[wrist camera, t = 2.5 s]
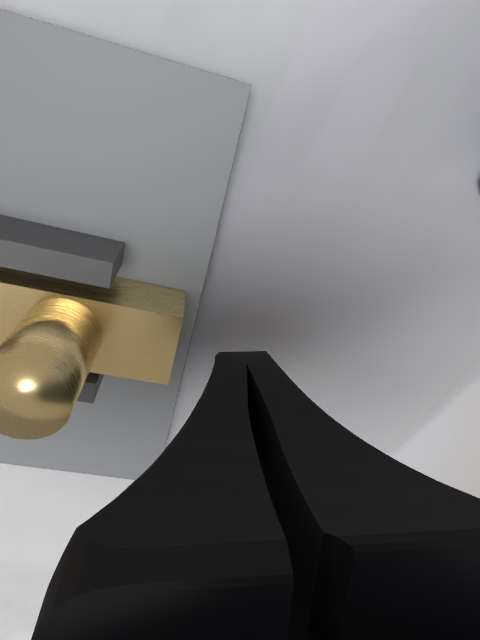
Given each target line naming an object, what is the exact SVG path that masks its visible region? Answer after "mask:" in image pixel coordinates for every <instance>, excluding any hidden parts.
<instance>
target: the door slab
mask: <svg viewBox="0 0 480 640" xmlns="http://www.w3.org/2000/svg"><path fill="white" fill-rule="evenodd" d="M250 89H251V85H250V84H246V83H243V82H240V81H236V80H233V79H230V78H226V77H223V76H220V75H217V74H213V73H210V72H207V71H203V70H200V69H197V68H194V67H190V66H187V65H184V64H180V63H177V62H174V61H170V60H167V59H164V58H161V57H157V56H154V55H151V54H147V53H144V52H141V51H138V50H134V49H131V48H128V47H124V46H121V45H118V44H114V43H111V42H108V41H105V40H101V39H98V38H95V37H91V36H88V35H85V34H81V33H78V32H75V31H72V30H68V29H65V28H62V27H58V26H55V25H52V24H49V23H45V22H42V21H39V20H35V19H32V18H29V17H25V16H22V15H19V14H16V13H12V12H9V11H6V10H2V9H0V267H5V268H10V269H15V270H20V271H25V272H30V273H35V274H40V275H44V276H49V277H54V278H59V279H64V280H69V281H74V282H79V283H84V284H89V285H94V286H99V287H104V288H109V289H110V287H111V285H112V283H113V281H114V279H115V277H119V278H124V279H129V280H133V281H138V282H143V283H148V284H153V285H157V286H162V287H167V288H172V289H177V290H182V291H186V293H185V304H184V315H183V322H182V326H181V330H180V335H179V339H178V344H177V348H176V353H175V357H174V362H173V366H172V371H171V375H170V379H169V384H168V385H164V384H158V383H152V382H146V381H140V380H134V379H128V378H122V377H116V376H110V375H104V374H98V373H92V372H89V374H88V376H87V378H86V381H85V383H84V385H83V388H82V390H81V392H80V395H79V397H78V399H77V402H76V404H75V406H74V409H73V411H72V413H71V416H70V418H69V420H68V421H67V423H66V424H65V425H64V427H62V428H61V429H60V430H59V431H57V432H56V433H54V434H52V435H50V436H47V437H44V438H40V439H32V440H25V439H16V438H11V437H8V436H5V435H2V434H0V463H4V464H12V465H20V466H28V467H36V468H44V469H52V470H60V471H68V472H76V473H84V474H92V475H100V476H108V477H116V478H124V479H133V480H136V479H137V478H138V477H139V476H140V475H142V474H143V473H144V472H145V471H146V470H147V469H148V468H149V467H150V466H151V465H152V464H153V462H154V461H155V460H156V459H157V458H158V457H159V456H160V455H161V453H162V452H163V451H164V450H165V445H166V441H167V437H168V433H169V429H170V424H171V420H172V416H173V412H174V408H175V403H176V399H177V395H178V391H179V387H180V382H181V378H182V374H183V370H184V366H185V361H186V357H187V353H188V349H189V345H190V340H191V336H192V332H193V328H194V324H195V319H196V315H197V311H198V307H199V303H200V298H201V294H202V290H203V286H204V282H205V278H206V273H207V269H208V265H209V261H210V257H211V252H212V248H213V244H214V240H215V236H216V231H217V227H218V223H219V219H220V215H221V210H222V206H223V202H224V198H225V194H226V189H227V185H228V181H229V177H230V173H231V168H232V164H233V160H234V156H235V152H236V147H237V143H238V139H239V135H240V131H241V126H242V122H243V118H244V114H245V110H246V105H247V101H248V97H249V93H250Z"/></svg>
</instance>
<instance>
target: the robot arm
mask: <svg viewBox="0 0 480 640" xmlns="http://www.w3.org/2000/svg"><path fill="white" fill-rule="evenodd" d="M31 640H480V499H479V498H477V497H475V496H472V495H470V494H467V493H465V492H462V491H460V490H457V489H455V488H453V487H450V486H448V485H445V484H443V483H441V482H438V481H436V480H434V479H432V478H430V477H428V476H426V475H424V474H422V473H420V472H418V471H416V470H414V469H412V468H410V467H408V466H406V465H404V464H402V463H400V462H399V461H397V460H395V459H393V458H391V457H390V456H388V455H386V454H385V453H383V452H381V451H380V450H378V449H376V448H375V447H373V446H371V445H370V444H368V443H366V442H365V441H363V440H362V439H360V438H359V437H357V436H356V435H354V434H353V433H352V432H350V431H349V430H347V429H346V428H345V427H343V426H342V425H341V424H339V423H338V422H336V421H335V420H334V419H333V418H331V417H330V416H329V415H328V414H326V413H325V412H324V411H323V410H322V409H321V408H319V407H318V406H317V405H316V404H315V403H314V402H313V401H312V400H311V399H309V398H308V397H307V396H306V395H305V394H304V393H303V392H302V391H301V390H300V389H299V388H298V387H297V386H296V384H295V383H294V382H293V381H292V380H291V379H290V378H289V377H288V376H287V375H286V374H285V373H284V371H283V370H282V369H281V368H280V367H279V366H278V365H277V363H276V362H275V361H274V360H273V359H272V357H271V356H270V355H269V354H268V353H267V352H266V351H254V352H219V353H218V354H217V355H216V356H215V363H214V367H213V371H212V373H211V376H210V379H209V381H208V383H207V385H206V387H205V389H204V392H203V394H202V396H201V398H200V399H199V401H198V403H197V405H196V406H195V408H194V410H193V411H192V413H191V415H190V416H189V418H188V420H187V421H186V423H185V424H184V426H183V427H182V428H181V430H180V431H179V432H178V434H177V435H176V436H175V438H174V439H173V440H172V442H171V443H170V444H169V445H168V446H167V448H166V449H165V450H164V451H163V452H162V453H161V455H160V456H159V457H158V458H157V459H156V460H155V461H154V462H153V464H152V465H151V466H150V467H149V468H148V469H147V470H146V471H145V472H144V473H143V474H142V475H140V476H139V477H138V478H137V479H136V480H135V481H134V482H133V483H132V484H131V485H130V486H129V487H128V488H127V489H126V490H125V491H123V492H122V493H121V494H120V495H119V496H118V497H117V498H115V499H114V500H113V501H112V502H110V503H109V504H108V505H106V506H105V507H104V508H103V509H101V510H100V511H99V512H97V513H96V514H95V515H93V516H92V517H91V518H90V519H88V520H87V521H85V522H84V523H83V524H81V525H80V526H78V527H77V528H76V530H75V532H74V534H73V535H72V537H71V539H70V541H69V543H68V545H67V547H66V549H65V551H64V552H63V555H62V557H61V559H60V561H59V563H58V565H57V567H56V570H55V572H54V574H53V576H52V579H51V581H50V583H49V586H48V588H47V591H46V594H45V597H44V600H43V603H42V607H41V610H40V613H39V616H38V620H37V623H36V626H35V629H34V632H33V636H32V639H31Z"/></svg>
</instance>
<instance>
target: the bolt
mask: <svg viewBox="0 0 480 640" xmlns="http://www.w3.org/2000/svg"><path fill="white" fill-rule="evenodd" d="M185 293H186V291H182V290H177V289H172V288H167V287H162V286H157V285H153V284H148V283H143V282H138V281H133V280H129V279H124V278H119V277H115V279H114V281H113V283H112V285H111V287H110V289H109V288H104V287H99V286H94V285H89V284H84V283H79V282H74V281H69V280H64V279H59V278H54V277H49V276H44V275H40V274H35V273H30V272H25V271H20V270H15V269H10V268H5V267H0V434H2V435H5V436H8V437H11V438H16V439H25V440H32V439H40V438H44V437H47V436H50V435H52V434H54V433H56V432H57V431H59V430H60V429H61V428H62V427H64V425H65V424H66V423H67V421H68V420H69V418H70V416H71V413H72V411H73V409H74V406H75V404H76V402H77V399H78V397H79V395H80V392H81V390H82V388H83V385H84V383H85V381H86V378H87V376H88V374H89V372H92V373H98V374H104V375H110V376H116V377H122V378H128V379H134V380H140V381H146V382H152V383H158V384H164V385H168V384H169V379H170V375H171V371H172V366H173V362H174V357H175V353H176V348H177V344H178V339H179V335H180V330H181V326H182V322H183V315H184V304H185Z"/></svg>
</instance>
